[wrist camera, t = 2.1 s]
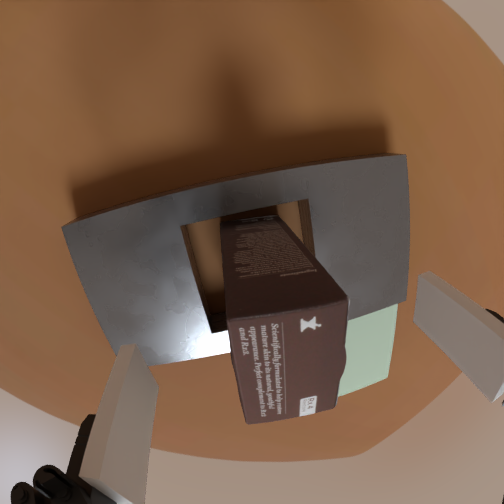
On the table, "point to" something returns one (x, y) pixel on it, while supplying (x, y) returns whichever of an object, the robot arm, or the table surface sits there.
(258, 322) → the box
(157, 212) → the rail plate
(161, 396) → the table surface
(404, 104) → the table surface
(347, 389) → the pad
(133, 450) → the robot arm
